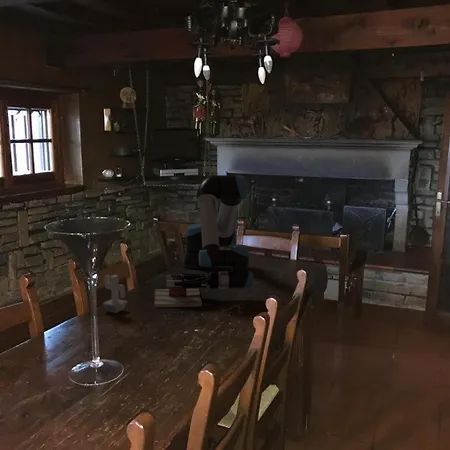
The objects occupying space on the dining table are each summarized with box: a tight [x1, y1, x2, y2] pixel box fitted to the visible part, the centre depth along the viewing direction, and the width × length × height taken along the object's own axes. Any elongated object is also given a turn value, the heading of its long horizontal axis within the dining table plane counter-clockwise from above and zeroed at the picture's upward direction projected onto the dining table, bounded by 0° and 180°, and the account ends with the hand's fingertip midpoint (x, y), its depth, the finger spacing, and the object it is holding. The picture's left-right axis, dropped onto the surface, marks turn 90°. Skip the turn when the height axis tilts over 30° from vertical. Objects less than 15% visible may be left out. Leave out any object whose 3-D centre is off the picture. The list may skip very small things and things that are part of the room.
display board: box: [154, 288, 203, 308], centre depth 223 cm, size 20×20×2 cm
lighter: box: [168, 273, 188, 297], centre depth 222 cm, size 8×3×10 cm, turn 88°
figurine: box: [102, 274, 128, 314], centre depth 206 cm, size 7×9×15 cm
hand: (166, 280), depth 221 cm, fingers open, 7 cm apart
